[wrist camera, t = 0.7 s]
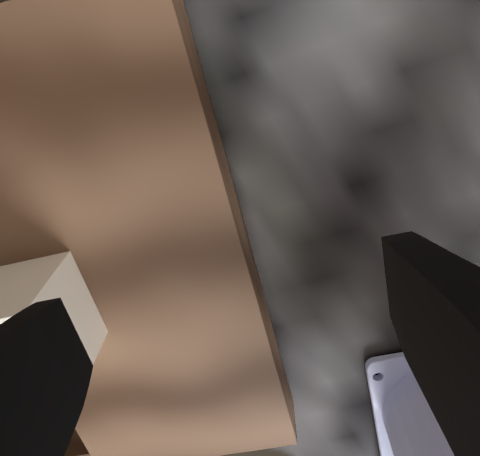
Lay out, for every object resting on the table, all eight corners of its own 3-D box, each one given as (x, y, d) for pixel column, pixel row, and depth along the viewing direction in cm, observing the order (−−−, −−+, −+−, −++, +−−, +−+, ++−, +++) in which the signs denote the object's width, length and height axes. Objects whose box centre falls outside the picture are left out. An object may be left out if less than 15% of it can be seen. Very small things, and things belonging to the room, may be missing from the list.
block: (108, 331, 19) (74, 406, 16) (22, 347, 20) (-30, 423, 16) (70, 251, 17) (22, 313, 14) (-23, 271, 18) (-91, 337, 14)
